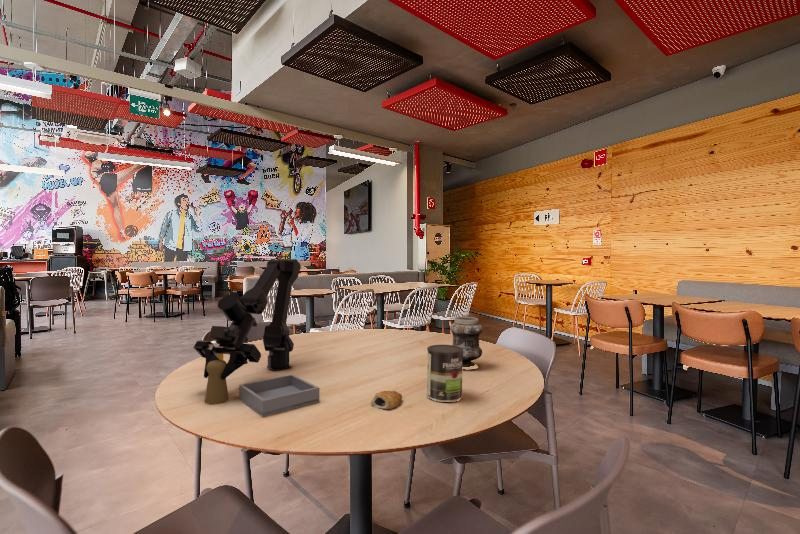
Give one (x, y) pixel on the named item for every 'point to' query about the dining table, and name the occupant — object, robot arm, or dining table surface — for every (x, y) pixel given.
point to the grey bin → (278, 394)
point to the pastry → (386, 399)
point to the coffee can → (444, 373)
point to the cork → (216, 383)
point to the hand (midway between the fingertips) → (213, 378)
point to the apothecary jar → (467, 338)
